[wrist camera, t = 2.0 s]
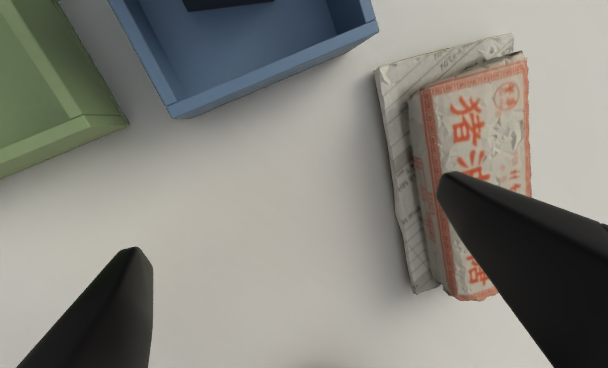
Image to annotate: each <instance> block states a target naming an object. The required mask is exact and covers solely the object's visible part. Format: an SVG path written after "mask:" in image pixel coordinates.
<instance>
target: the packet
mask: <svg viewBox="0 0 608 368" xmlns="http://www.w3.org/2000/svg"><path fill="white" fill-rule="evenodd" d="M182 2H183V4H184V6H185V8H186V10H187V11H188V12H193V11H201V10H209V9H218V8H226V7H234V6H242V5H250V4H258V3H267V2H274V0H182Z"/></svg>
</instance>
